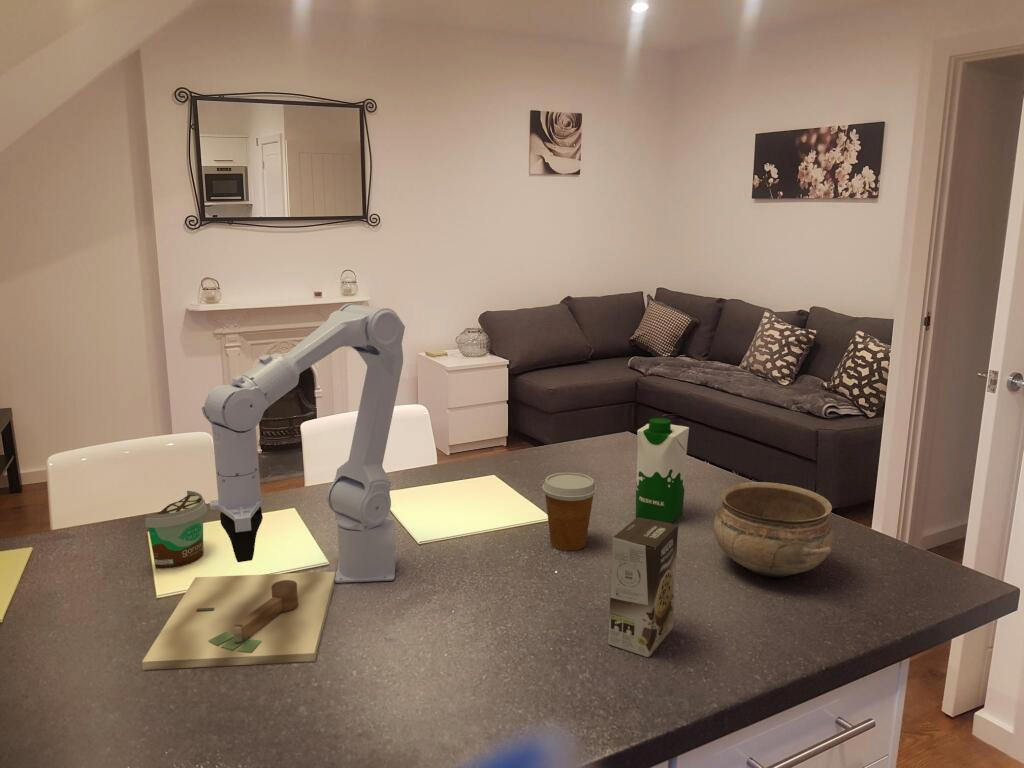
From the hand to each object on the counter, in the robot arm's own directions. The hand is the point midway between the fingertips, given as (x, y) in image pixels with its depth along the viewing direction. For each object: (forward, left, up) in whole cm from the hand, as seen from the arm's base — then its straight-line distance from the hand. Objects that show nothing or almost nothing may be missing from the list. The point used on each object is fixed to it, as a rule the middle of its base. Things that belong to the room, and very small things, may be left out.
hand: (244, 559), depth 114 cm
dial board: (0, 0, -9) cm, 9 cm away
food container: (+15, -22, -10) cm, 28 cm away
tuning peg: (-3, +3, -8) cm, 9 cm away
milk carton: (-71, -33, -10) cm, 79 cm away
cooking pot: (-83, -9, -10) cm, 84 cm away
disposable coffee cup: (-51, -22, -10) cm, 56 cm away
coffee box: (-56, +10, -10) cm, 58 cm away
